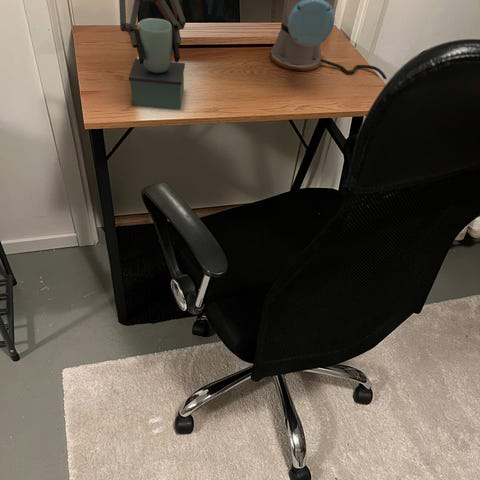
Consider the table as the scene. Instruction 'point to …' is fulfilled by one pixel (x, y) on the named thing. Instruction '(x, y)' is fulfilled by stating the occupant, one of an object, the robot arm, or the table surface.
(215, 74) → the table surface
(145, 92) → the container
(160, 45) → the cup
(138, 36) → the robot arm
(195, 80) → the table surface
